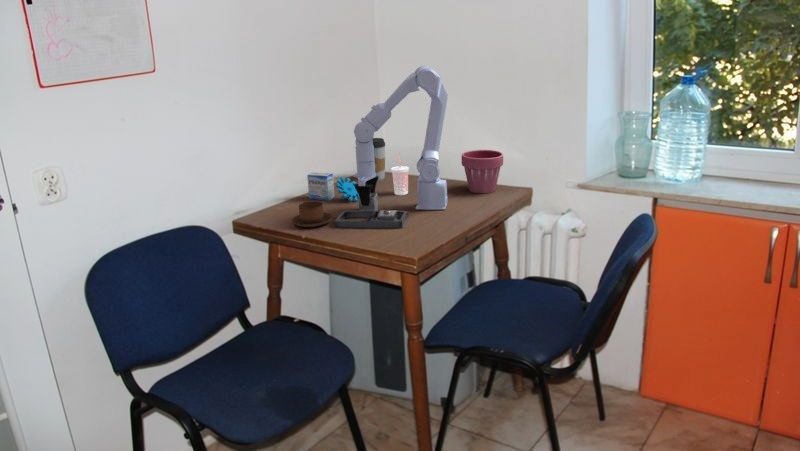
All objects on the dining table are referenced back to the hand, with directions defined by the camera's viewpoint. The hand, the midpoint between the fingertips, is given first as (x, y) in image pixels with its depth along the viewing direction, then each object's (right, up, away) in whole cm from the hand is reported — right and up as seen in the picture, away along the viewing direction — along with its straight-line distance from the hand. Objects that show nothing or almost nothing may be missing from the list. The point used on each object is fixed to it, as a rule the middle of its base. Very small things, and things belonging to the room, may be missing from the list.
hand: (368, 202), depth 216 cm
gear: (-6, +1, +15) cm, 16 cm away
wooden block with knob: (+7, -6, -11) cm, 15 cm away
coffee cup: (+1, +10, +40) cm, 42 cm away
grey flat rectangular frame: (+2, -6, -10) cm, 12 cm away
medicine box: (-17, +2, +19) cm, 25 cm away
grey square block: (0, -3, +1) cm, 3 cm away
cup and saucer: (-17, -7, -8) cm, 20 cm away
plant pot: (+39, +5, +18) cm, 43 cm away
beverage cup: (+11, +4, +19) cm, 22 cm away
